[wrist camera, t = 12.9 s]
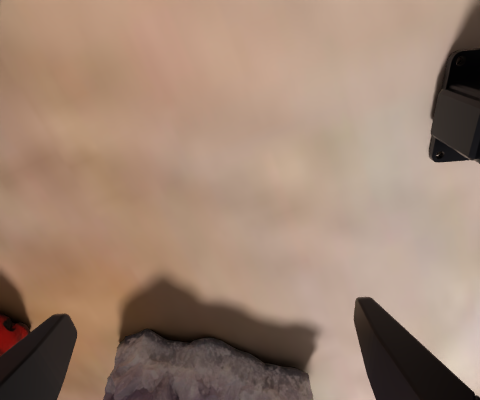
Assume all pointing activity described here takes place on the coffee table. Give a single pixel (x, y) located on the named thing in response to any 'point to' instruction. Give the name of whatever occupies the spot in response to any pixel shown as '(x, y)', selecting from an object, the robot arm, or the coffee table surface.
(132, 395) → the geode
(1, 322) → the red bumpy rounded piece
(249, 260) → the coffee table surface
